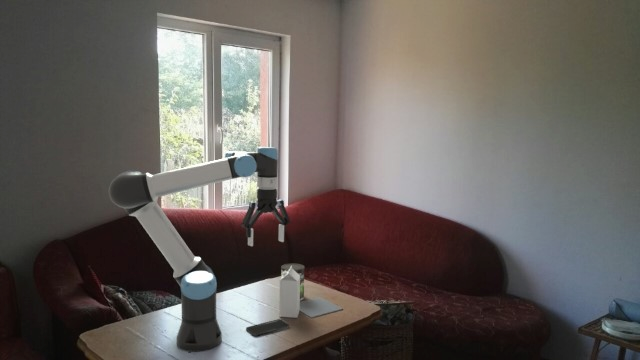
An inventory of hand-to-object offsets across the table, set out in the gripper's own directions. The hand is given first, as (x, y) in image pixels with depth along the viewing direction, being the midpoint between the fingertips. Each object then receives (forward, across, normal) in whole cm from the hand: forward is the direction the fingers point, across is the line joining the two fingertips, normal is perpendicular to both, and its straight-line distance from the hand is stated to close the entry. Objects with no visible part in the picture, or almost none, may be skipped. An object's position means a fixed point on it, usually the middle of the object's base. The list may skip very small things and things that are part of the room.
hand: (266, 243), depth 180 cm
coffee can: (+30, +22, +14) cm, 40 cm away
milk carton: (+30, +11, -1) cm, 32 cm away
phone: (+31, -3, -8) cm, 32 cm away
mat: (+30, +24, -1) cm, 38 cm away
